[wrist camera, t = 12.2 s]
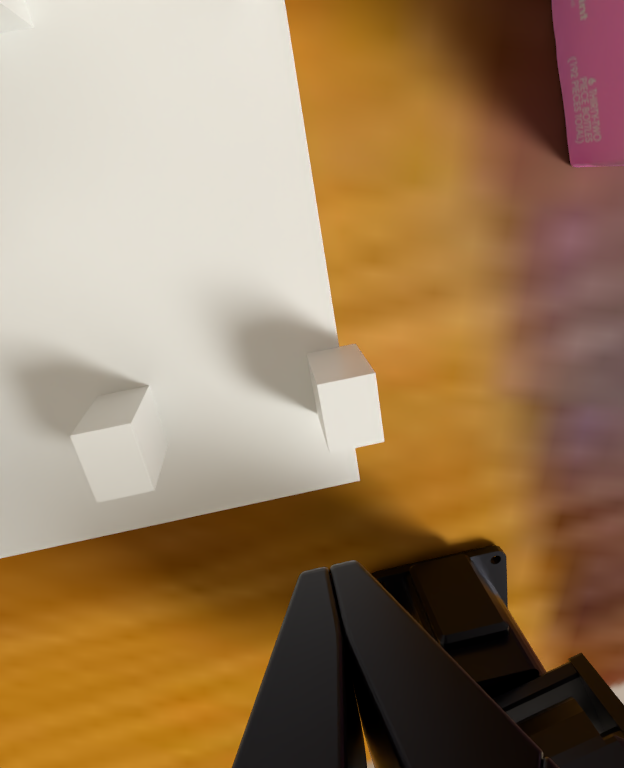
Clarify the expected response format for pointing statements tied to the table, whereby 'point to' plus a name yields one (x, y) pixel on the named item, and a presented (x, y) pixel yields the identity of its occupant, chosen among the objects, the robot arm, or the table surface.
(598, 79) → the pink drink multipack
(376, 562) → the table surface
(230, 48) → the board
